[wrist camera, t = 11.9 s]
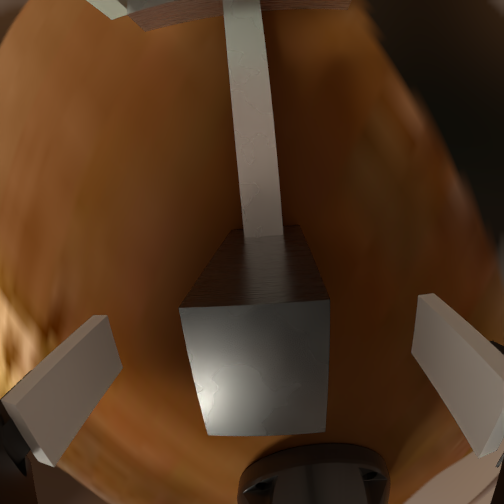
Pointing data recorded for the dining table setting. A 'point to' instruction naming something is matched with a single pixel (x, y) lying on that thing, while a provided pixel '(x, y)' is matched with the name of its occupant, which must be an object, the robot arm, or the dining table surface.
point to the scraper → (254, 258)
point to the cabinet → (111, 7)
